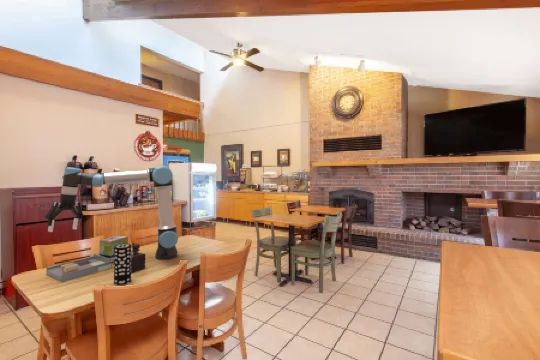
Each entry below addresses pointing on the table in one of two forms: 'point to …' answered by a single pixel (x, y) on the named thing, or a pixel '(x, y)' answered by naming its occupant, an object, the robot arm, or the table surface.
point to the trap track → (80, 268)
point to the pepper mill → (137, 259)
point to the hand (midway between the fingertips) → (62, 230)
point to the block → (69, 268)
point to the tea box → (111, 246)
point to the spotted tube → (122, 264)
